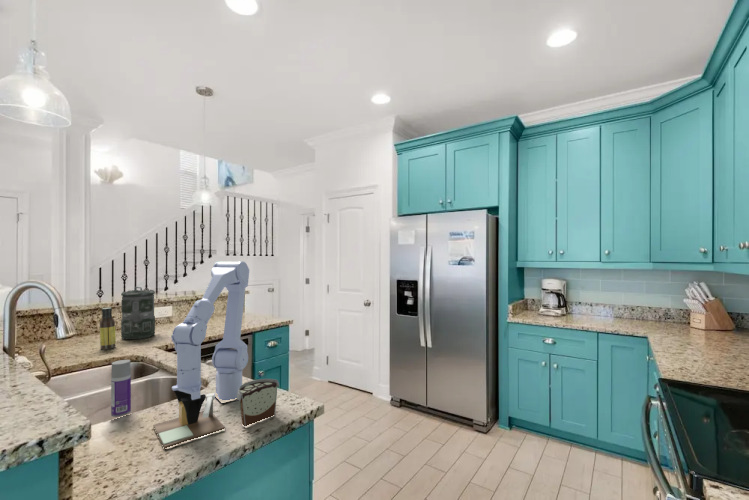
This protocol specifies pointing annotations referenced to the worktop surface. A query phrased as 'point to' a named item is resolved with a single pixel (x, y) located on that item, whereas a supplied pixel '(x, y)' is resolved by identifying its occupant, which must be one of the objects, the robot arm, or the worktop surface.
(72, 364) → the worktop surface
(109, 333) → the sauce bottle
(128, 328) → the green backpack
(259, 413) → the food container
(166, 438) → the sage mat
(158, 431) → the brown tray
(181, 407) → the plug block
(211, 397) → the strap
